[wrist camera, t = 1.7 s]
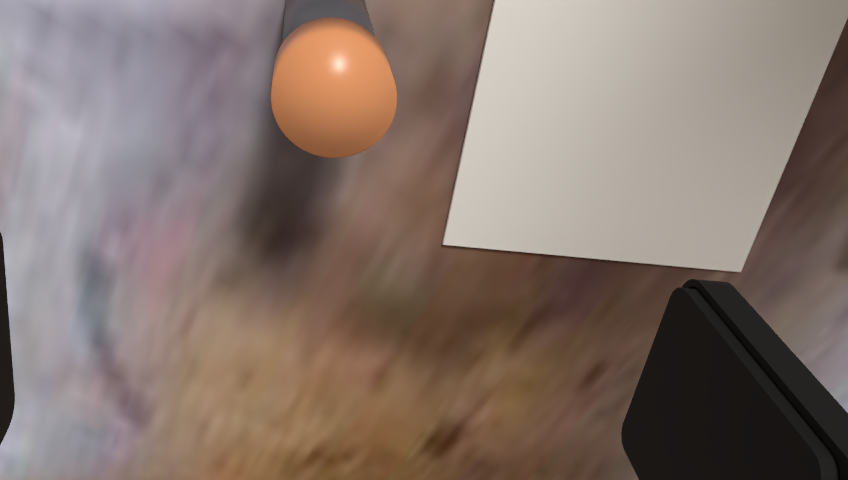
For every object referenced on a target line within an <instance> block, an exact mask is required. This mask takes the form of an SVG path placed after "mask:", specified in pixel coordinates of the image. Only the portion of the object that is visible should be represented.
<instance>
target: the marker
mask: <svg viewBox="0 0 848 480" xmlns="http://www.w3.org/2000/svg"><path fill="white" fill-rule="evenodd" d="M271 104H272V110H273V114H274V117H275V119H276V122H277V124H278V126H279V127H280V129H281V130H282V132H283V133H284V134H285V136H286V137H287V138H288V139H289V140H290V141H291V142H292V143H294V144H295V145H296V146H298V147H299V148H301V149H303V150H304V151H306V152H309V153H311V154H314V155H317V156H321V157H327V158H341V157H348V156H352V155H355V154H358V153H360V152H363V151H365V150H367V149H368V148H370V147H371V146H373V145H374V144H375V143H376V142H378V141H379V140H380V139H381V138H382V137H383V135H384V134H385V133H386V131H387V130H388V128H389V127H390V125H391V123H392V120H393V118H394V115H395V111H396V106H397V91H396V85H395V82H394V78H393V75H392V72H391V69H390V66H389V63H388V59H387V56H386V54H385V51H384V49H383V47H382V46H381V44H380V43H379V41H378V40H377V39H376V38H375V35H374V32H373V28H372V25H371V21H370V18H369V15H368V11H367V8H366V4H365V1H364V0H286V5H285V16H284V27H283V37H282V45H281V46H280V48H279V51H278V53H277V56H276V59H275V64H274V71H273V80H272V89H271Z"/></svg>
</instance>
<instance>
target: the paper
mask: <svg viewBox="0 0 848 480" xmlns="http://www.w3.org/2000/svg"><path fill="white" fill-rule="evenodd" d="M847 18H848V0H494V2H493V6H492V11H491V16H490V21H489V25H488V30H487V35H486V39H485V44H484V49H483V53H482V58H481V63H480V67H479V72H478V77H477V82H476V86H475V91H474V96H473V100H472V105H471V110H470V114H469V119H468V124H467V129H466V133H465V138H464V143H463V147H462V152H461V157H460V161H459V166H458V171H457V176H456V180H455V185H454V190H453V194H452V199H451V204H450V208H449V213H448V218H447V223H446V227H445V232H444V237H443V241H442V243H443V245H452V246H463V247H473V248H484V249H495V250H506V251H517V252H527V253H538V254H549V255H560V256H571V257H581V258H592V259H603V260H614V261H625V262H635V263H646V264H657V265H668V266H679V267H689V268H700V269H711V270H722V271H733V272H741V271H742V268H743V266H744V264H745V261H746V259H747V256H748V254H749V252H750V249H751V247H752V245H753V242H754V240H755V237H756V235H757V233H758V230H759V228H760V226H761V223H762V221H763V218H764V216H765V214H766V211H767V209H768V206H769V204H770V202H771V199H772V197H773V195H774V192H775V190H776V187H777V185H778V183H779V180H780V178H781V176H782V173H783V171H784V168H785V166H786V164H787V161H788V159H789V157H790V154H791V152H792V149H793V147H794V145H795V142H796V140H797V137H798V135H799V133H800V130H801V128H802V126H803V123H804V121H805V118H806V116H807V114H808V111H809V109H810V107H811V104H812V102H813V99H814V97H815V95H816V92H817V90H818V87H819V85H820V83H821V80H822V78H823V76H824V73H825V71H826V68H827V66H828V64H829V61H830V59H831V57H832V54H833V52H834V49H835V47H836V45H837V42H838V40H839V37H840V35H841V33H842V30H843V28H844V26H845V23H846V21H847Z"/></svg>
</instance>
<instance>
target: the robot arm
mask: <svg viewBox="0 0 848 480" xmlns="http://www.w3.org/2000/svg"><path fill="white" fill-rule="evenodd" d="M14 402H15V394H14V381H13V368H12V355H11V342H10V329H9V316H8V303H7V290H6V277H5V264H4V251H3V240H2V235H1V233H0V445H1V442H2V440H3V438H4V436H5V434H6V432H7V430H8V428H9V425H10V423H11V419H12V416H13V410H14ZM621 435H622V444H623V448H624V450H625V452H626V454H627V456H628V458H629V460H630V462H631V464H632V466H633V468H634V470H635V472H636V474H637V476H638V478H639V480H848V413H847V412H846V411H845V410H844V409H843V408H842V406H841V405H840V404H839V403H838V402H837V401H836V400H835V399H834V398H833V396H832V395H831V394H830V393H829V392H828V391H827V390H826V389H825V388H824V386H823V385H822V384H821V383H820V382H819V381H818V380H817V379H816V378H815V376H814V375H813V374H812V373H811V372H810V371H809V370H808V369H807V368H806V366H805V365H804V364H803V363H802V362H801V361H800V360H799V359H798V358H797V357H796V355H795V354H794V353H793V352H792V351H791V350H790V349H789V348H788V347H787V345H786V344H785V343H784V342H783V341H782V340H781V339H780V338H779V337H778V335H777V334H776V333H775V332H774V331H773V330H772V329H771V328H770V327H769V325H768V324H767V323H766V322H765V321H764V320H763V319H762V318H761V317H760V315H759V314H758V313H757V312H756V311H755V310H754V309H753V308H752V307H751V305H750V304H749V303H748V302H747V301H746V300H745V299H744V298H743V297H742V296H741V294H740V293H739V292H738V291H737V290H736V289H735V288H734V287H733V286H732V285H731V284H730V283H727V282H718V281H707V280H695V279H691V280H689V281H687V282H686V283H685V284H684V285H683V287H682V288H677V289H675V290H674V291H673V292H672V294H671V297H670V299H669V302H668V304H667V307H666V310H665V312H664V315H663V318H662V320H661V323H660V326H659V328H658V331H657V334H656V337H655V339H654V342H653V345H652V347H651V350H650V353H649V355H648V358H647V361H646V363H645V366H644V369H643V371H642V374H641V377H640V379H639V382H638V385H637V388H636V390H635V393H634V396H633V398H632V401H631V404H630V406H629V409H628V412H627V414H626V417H625V420H624V422H623V426H622V433H621Z"/></svg>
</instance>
